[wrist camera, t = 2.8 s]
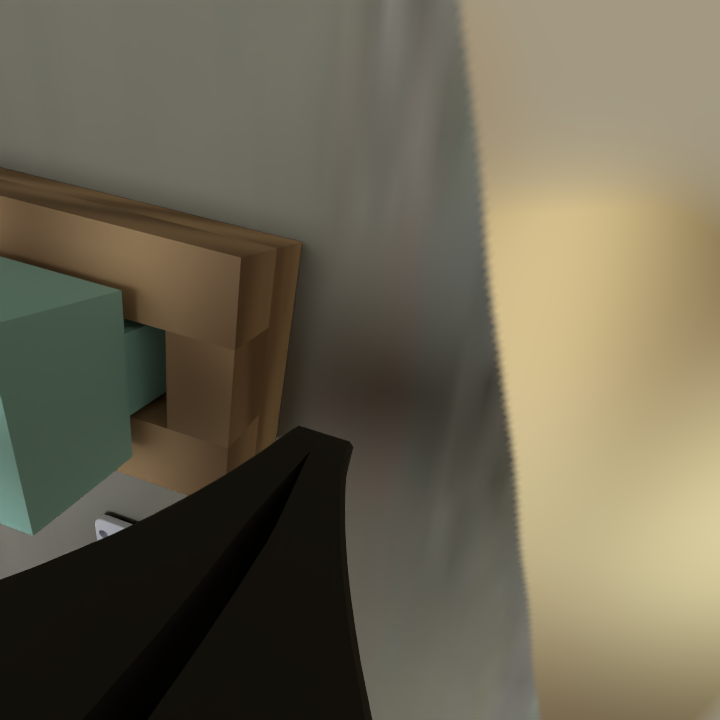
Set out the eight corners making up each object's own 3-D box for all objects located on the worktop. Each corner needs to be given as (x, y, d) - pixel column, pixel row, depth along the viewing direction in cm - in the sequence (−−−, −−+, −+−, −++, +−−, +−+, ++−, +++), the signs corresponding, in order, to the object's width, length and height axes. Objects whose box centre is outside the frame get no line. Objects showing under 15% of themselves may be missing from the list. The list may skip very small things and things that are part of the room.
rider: (180, 275, 11) (-15, 326, 6) (179, 419, 13) (32, 535, 9) (52, 240, 12) (-214, 265, 7) (72, 385, 14) (-122, 477, 9)
